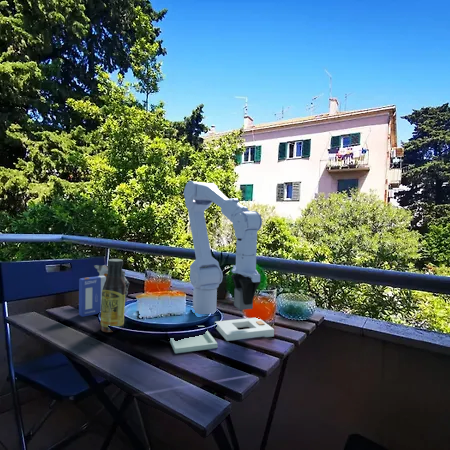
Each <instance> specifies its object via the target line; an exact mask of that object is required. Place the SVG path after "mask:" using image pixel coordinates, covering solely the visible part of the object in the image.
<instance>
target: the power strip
mask: <svg viewBox="0 0 450 450" xmlns="http://www.w3.org/2000/svg"><path fill="white" fill-rule="evenodd" d="M258 318H259V317H258ZM258 318H256V317H248V318H246V317H245V318H238V319H227V320H218V321H217V320H216V321H214V324H215V323H216V324H217V327H216V328H215V329H216V331H217V332H218V333H219V334H220V335H221V336H222V337H223V338H224V340H225V341H226V342H229V341H237V340H246V339H253V338H261V337H264V338H272V337H275V329H274V328H273V327H272V326H271V325H269V323H266V322H265V321H264V320H263V319H261V318H260V319H258ZM240 328H243V329H240Z"/></svg>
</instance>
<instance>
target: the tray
mask: <svg viewBox="0 0 450 450" xmlns="http://www.w3.org/2000/svg"><path fill="white" fill-rule="evenodd" d="M197 326H198V327H205V325H197ZM169 343H170V346H171V347H172V350H173V352H174V354H182V353H190V352H196V351H197V352H198V351H206V350H211V349H218V348H219V347H218V341H216V340H215V338H214V337H213V336H212V334H211V332H209V331H208V330H207V331H206V332H205V334H203V335H199V336H195V337H189V338H184V339H181V340H178V341H175V340H174V338H170V341H169Z"/></svg>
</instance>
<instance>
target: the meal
mask: <svg viewBox="0 0 450 450" xmlns="http://www.w3.org/2000/svg"><path fill="white" fill-rule="evenodd" d="M93 267H94V268H95V269H96V270H97V273H98V274H99V275H98V276H105V277H106V278H107V275H108V265H99V264H96V265H94V264H93ZM125 275H126V271H125V270H123V269H122V278H123V280H124V282H125V303H127V302H128V297H127V295H128V294H129V291H128V290H129V286H130V282H129V281H128V279H127V278H126V276H125ZM126 297H127V298H126Z"/></svg>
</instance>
